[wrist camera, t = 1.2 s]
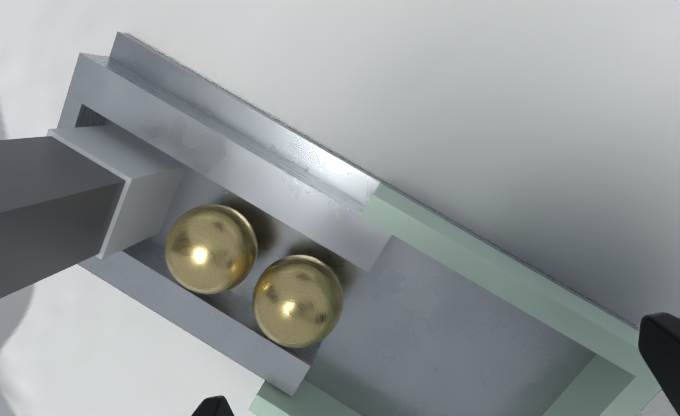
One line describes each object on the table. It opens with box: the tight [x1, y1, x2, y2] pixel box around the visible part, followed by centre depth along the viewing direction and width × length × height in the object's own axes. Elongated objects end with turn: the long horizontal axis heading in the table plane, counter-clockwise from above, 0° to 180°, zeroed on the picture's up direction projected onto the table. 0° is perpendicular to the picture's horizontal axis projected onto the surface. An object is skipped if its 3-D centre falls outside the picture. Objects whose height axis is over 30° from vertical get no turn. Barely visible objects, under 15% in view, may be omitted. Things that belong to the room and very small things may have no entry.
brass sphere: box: [164, 204, 258, 294], centre depth 19 cm, size 4×4×4 cm
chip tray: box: [248, 183, 662, 416], centre depth 19 cm, size 13×12×3 cm
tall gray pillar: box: [0, 125, 187, 298], centre depth 15 cm, size 4×4×13 cm
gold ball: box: [252, 255, 344, 348], centre depth 19 cm, size 4×4×4 cm
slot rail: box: [57, 32, 640, 416], centre depth 20 cm, size 27×12×2 cm, turn 62°
